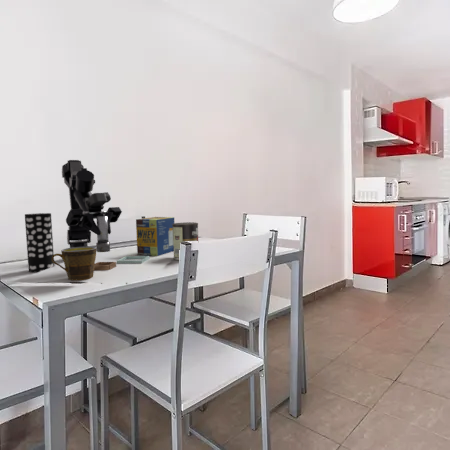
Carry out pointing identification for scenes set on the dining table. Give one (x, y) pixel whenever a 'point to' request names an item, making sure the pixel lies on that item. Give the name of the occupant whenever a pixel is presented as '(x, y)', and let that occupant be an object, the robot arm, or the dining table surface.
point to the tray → (123, 260)
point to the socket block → (104, 265)
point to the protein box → (154, 236)
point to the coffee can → (183, 235)
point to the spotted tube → (39, 241)
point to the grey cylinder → (102, 234)
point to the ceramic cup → (78, 263)
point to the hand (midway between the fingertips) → (104, 233)
